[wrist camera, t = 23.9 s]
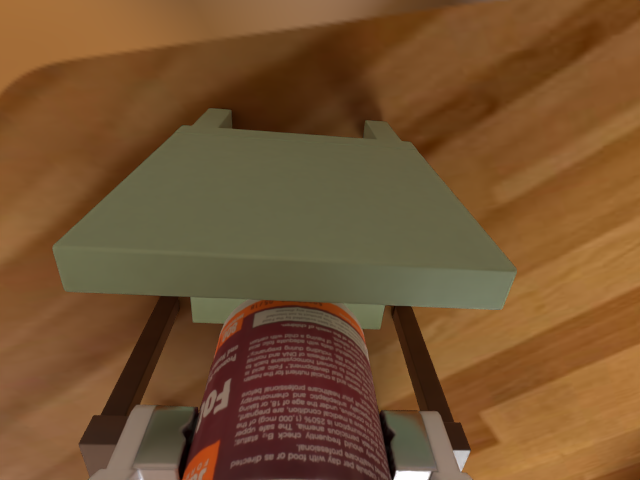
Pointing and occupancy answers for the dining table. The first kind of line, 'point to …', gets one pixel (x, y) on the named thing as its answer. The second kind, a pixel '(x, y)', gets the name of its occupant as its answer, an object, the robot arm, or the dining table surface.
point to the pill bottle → (289, 398)
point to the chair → (285, 226)
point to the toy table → (148, 349)
